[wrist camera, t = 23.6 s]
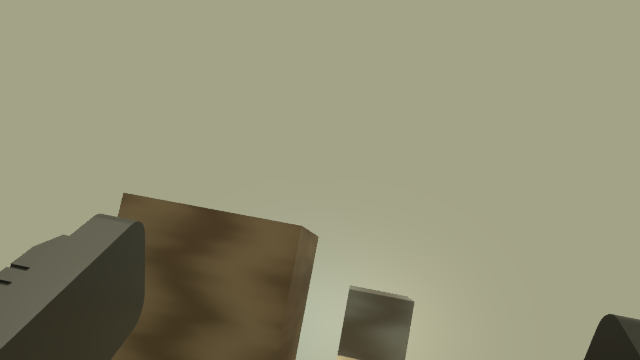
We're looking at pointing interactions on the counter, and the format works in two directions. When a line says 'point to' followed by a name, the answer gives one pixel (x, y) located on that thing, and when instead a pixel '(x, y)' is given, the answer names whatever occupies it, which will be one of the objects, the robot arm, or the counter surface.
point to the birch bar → (375, 326)
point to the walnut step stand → (218, 284)
